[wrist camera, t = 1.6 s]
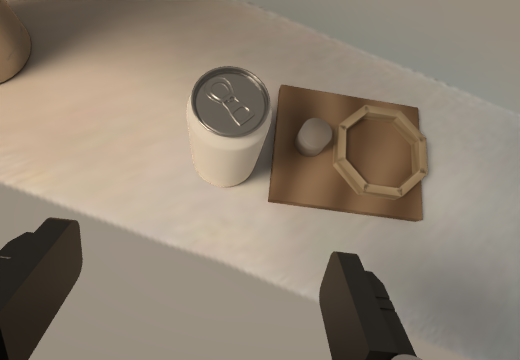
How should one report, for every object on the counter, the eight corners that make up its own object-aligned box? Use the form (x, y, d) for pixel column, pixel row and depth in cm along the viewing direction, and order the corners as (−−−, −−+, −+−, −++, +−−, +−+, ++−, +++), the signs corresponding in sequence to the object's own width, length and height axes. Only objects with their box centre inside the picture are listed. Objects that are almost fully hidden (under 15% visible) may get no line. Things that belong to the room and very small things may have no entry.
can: (227, 118, 37) (235, 45, 26) (267, 162, 36) (294, 107, 25) (179, 154, 35) (165, 92, 24) (220, 201, 34) (226, 161, 23)
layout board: (268, 201, 35) (275, 191, 31) (279, 90, 39) (287, 68, 35) (415, 221, 37) (440, 214, 33) (412, 112, 41) (434, 94, 37)
